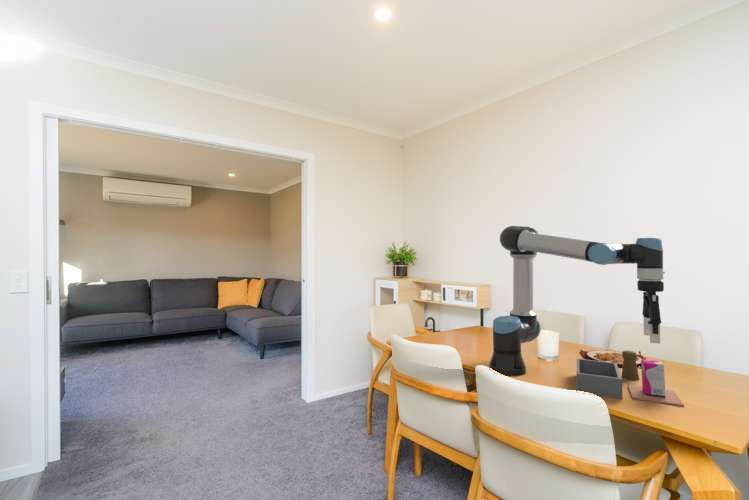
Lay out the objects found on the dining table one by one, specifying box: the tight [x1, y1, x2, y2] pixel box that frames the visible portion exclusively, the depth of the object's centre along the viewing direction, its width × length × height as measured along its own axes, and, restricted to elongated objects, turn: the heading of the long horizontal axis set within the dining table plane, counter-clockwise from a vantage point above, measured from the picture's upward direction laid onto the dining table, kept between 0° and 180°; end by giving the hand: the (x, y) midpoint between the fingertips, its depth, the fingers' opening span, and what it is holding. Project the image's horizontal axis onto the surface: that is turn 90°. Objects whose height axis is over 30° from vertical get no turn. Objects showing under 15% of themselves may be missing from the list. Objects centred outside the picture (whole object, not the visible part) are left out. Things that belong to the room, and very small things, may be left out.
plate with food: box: [579, 349, 647, 370], centre depth 172 cm, size 25×26×4 cm
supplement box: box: [641, 359, 666, 398], centre depth 129 cm, size 6×6×12 cm
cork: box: [621, 350, 640, 381], centre depth 147 cm, size 6×6×11 cm
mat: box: [627, 384, 685, 408], centre depth 128 cm, size 14×14×1 cm
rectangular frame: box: [575, 358, 623, 400], centre depth 139 cm, size 14×22×7 cm, turn 150°
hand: (651, 339), depth 129 cm, fingers open, 13 cm apart
